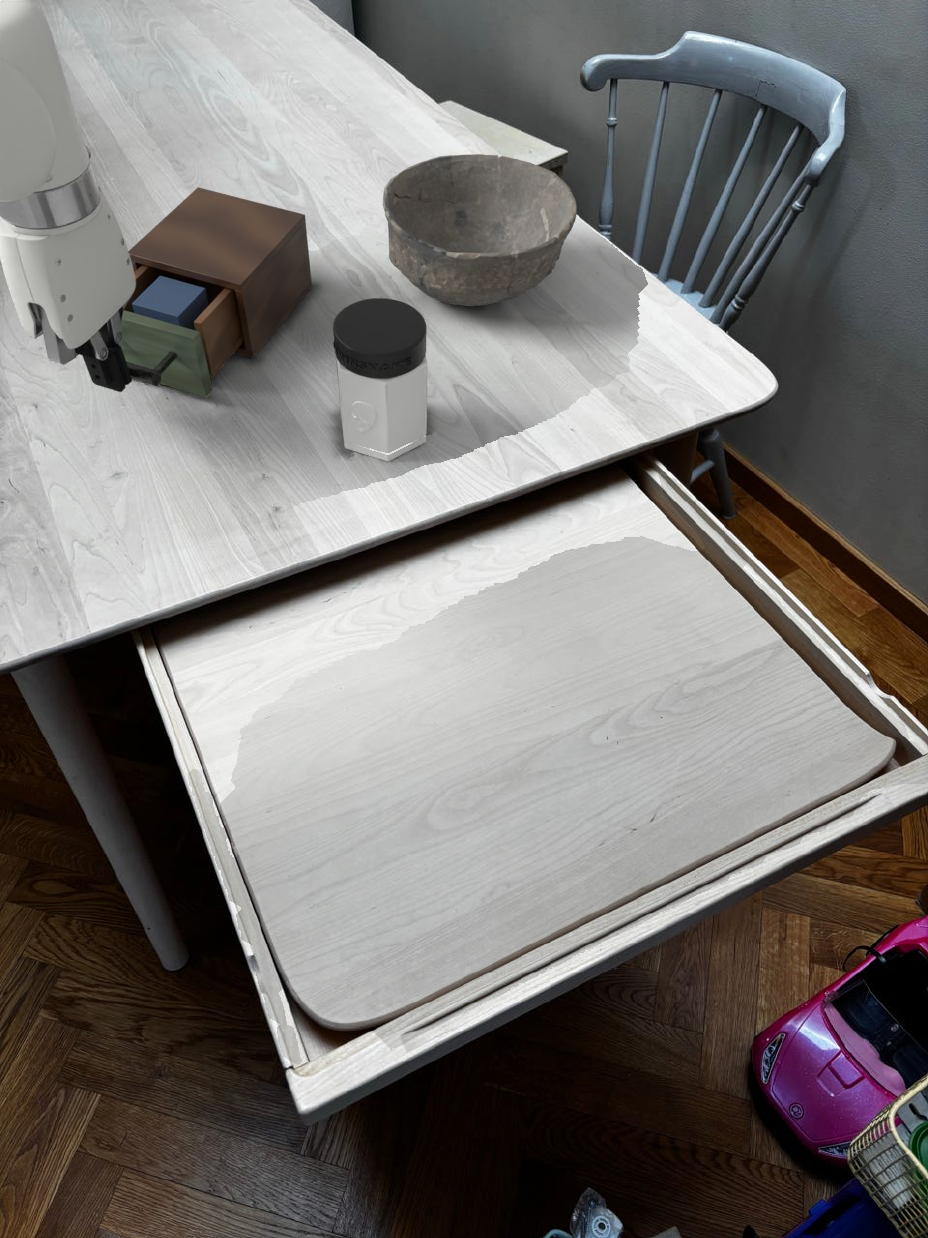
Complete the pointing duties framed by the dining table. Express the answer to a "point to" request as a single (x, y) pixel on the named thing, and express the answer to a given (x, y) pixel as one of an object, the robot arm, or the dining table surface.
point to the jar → (381, 376)
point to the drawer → (181, 338)
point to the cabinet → (235, 256)
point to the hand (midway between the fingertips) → (112, 382)
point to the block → (172, 302)
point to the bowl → (477, 226)
